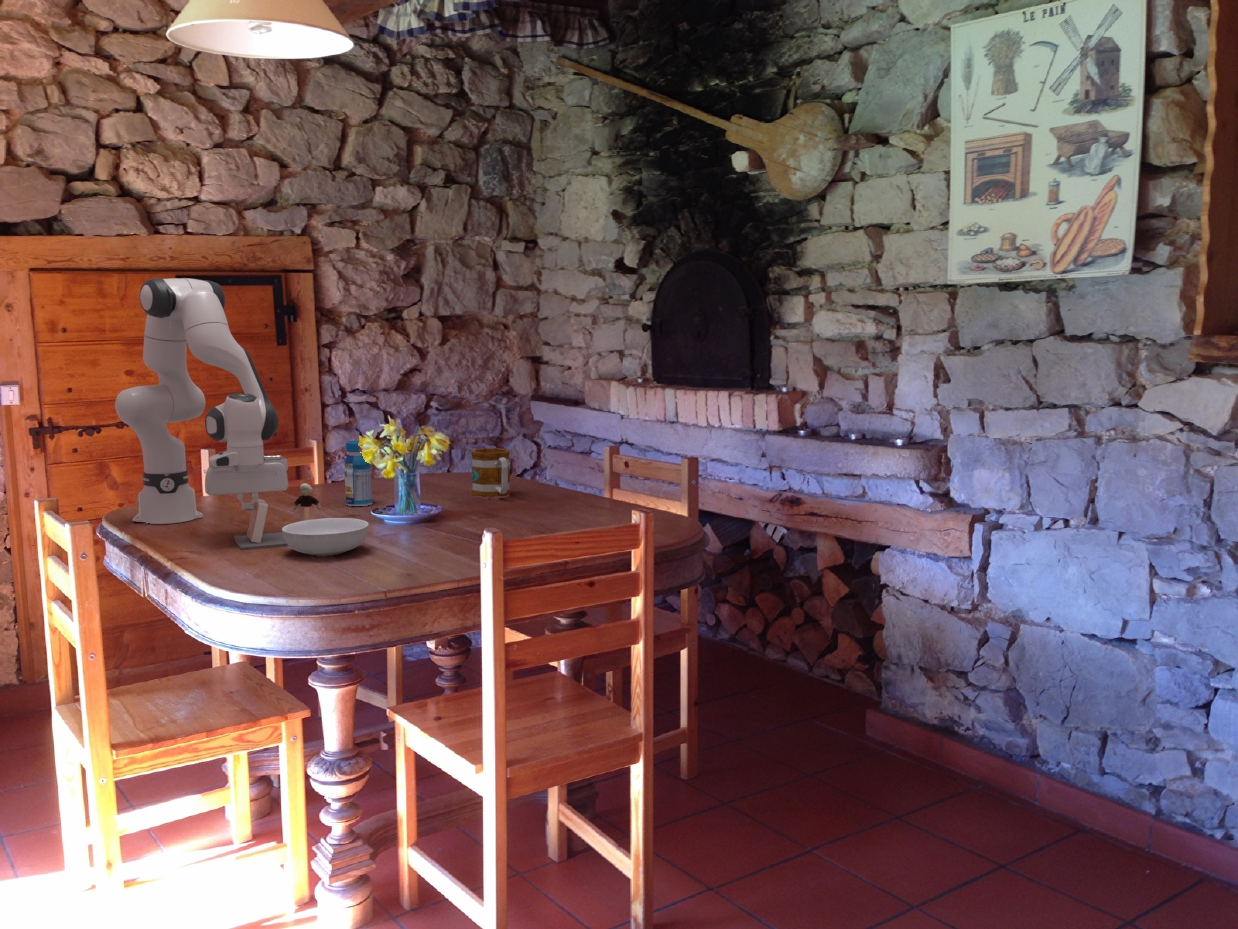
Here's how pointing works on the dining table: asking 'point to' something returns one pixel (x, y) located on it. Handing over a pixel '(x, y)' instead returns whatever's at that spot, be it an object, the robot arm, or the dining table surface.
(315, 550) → the serving bowl
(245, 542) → the mat
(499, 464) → the mug
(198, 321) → the robot arm
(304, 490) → the grandmother figurine
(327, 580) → the dining table surface
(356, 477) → the beverage bottle
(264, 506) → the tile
